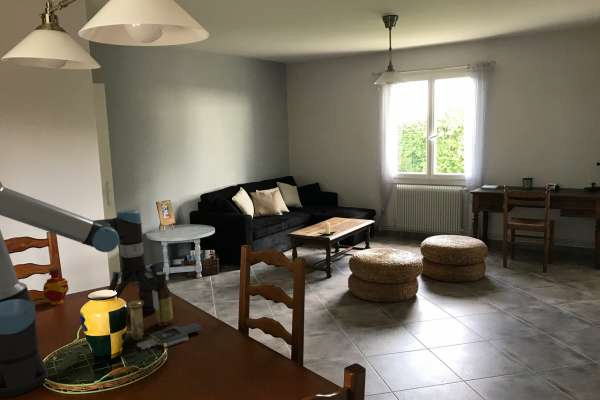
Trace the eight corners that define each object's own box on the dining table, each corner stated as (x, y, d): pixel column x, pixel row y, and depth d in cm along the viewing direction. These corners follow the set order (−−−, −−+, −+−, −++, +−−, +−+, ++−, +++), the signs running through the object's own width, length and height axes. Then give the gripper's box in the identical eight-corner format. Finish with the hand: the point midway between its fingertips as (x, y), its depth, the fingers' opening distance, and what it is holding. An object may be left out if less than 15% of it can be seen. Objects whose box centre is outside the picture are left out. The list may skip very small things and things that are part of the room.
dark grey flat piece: (144, 353, 152) (144, 346, 152) (134, 344, 159) (134, 338, 159) (204, 334, 167) (204, 328, 166) (193, 327, 173) (192, 320, 173)
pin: (133, 342, 161) (131, 306, 159) (128, 338, 165) (125, 302, 163) (148, 338, 164) (145, 302, 163) (142, 333, 168) (140, 299, 167)
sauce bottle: (175, 320, 180) (172, 270, 178) (169, 326, 174) (166, 275, 171) (159, 320, 181) (156, 270, 178) (152, 326, 175) (149, 275, 172)
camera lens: (149, 315, 186) (147, 279, 184) (135, 312, 190) (133, 276, 188) (164, 309, 193) (162, 273, 191) (151, 305, 197) (148, 271, 195)
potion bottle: (38, 307, 198) (35, 272, 196) (52, 298, 208) (49, 266, 206) (62, 306, 198) (59, 272, 196) (75, 298, 208) (72, 265, 206)
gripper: (98, 264, 150) (104, 327, 153) (171, 249, 166) (175, 307, 169) (91, 260, 156) (97, 320, 159) (162, 246, 172) (166, 301, 174)
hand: (137, 313), depth 164 cm, fingers open, 13 cm apart
